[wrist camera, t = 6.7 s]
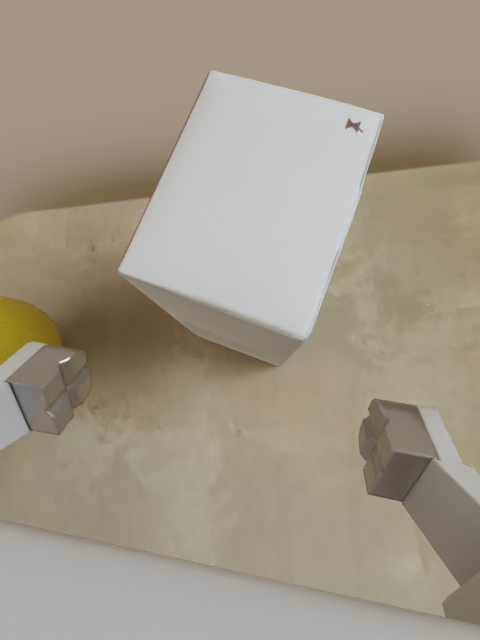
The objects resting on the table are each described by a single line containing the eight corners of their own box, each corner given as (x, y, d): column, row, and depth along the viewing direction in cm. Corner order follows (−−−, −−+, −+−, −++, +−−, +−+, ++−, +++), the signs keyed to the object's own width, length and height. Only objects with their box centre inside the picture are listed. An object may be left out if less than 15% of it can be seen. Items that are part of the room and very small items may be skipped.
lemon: (94, 372, 22) (6, 364, 14) (19, 405, 22) (-112, 414, 14) (72, 302, 23) (-22, 259, 16) (0, 332, 23) (-131, 304, 15)
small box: (235, 235, 24) (209, 60, 11) (318, 262, 23) (392, 108, 10) (193, 337, 22) (109, 272, 10) (280, 370, 22) (314, 345, 9)
